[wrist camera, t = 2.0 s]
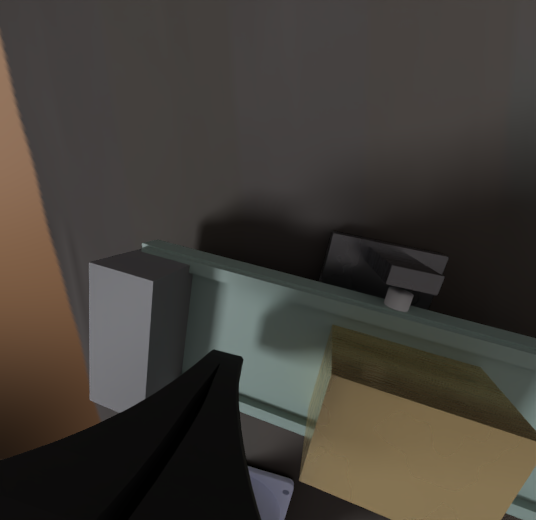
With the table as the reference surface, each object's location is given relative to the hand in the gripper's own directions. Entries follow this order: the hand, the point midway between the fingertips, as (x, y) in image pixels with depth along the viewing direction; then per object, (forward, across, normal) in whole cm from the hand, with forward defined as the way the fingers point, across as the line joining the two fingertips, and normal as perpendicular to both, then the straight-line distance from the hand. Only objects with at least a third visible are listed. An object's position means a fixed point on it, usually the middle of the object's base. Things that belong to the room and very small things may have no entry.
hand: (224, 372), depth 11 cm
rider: (+2, -7, 0) cm, 7 cm away
